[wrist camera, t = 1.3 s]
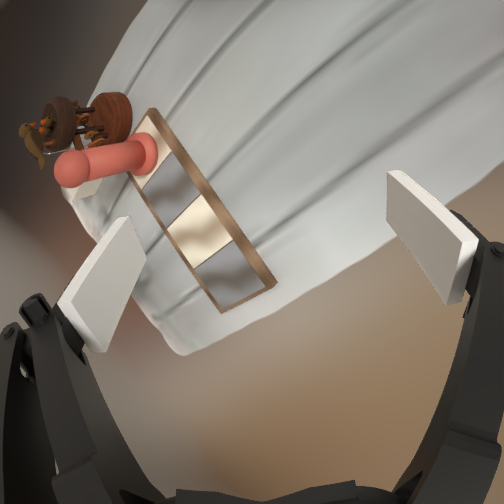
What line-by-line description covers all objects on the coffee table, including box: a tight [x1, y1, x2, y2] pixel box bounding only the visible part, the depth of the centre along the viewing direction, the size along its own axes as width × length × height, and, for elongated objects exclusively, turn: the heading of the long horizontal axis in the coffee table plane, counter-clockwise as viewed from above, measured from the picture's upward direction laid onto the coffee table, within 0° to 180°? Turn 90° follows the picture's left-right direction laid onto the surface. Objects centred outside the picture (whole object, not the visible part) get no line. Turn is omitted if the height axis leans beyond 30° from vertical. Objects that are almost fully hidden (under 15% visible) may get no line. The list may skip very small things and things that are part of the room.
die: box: [66, 177, 104, 201], centre depth 53 cm, size 6×6×6 cm
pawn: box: [54, 132, 158, 188], centre depth 37 cm, size 7×7×16 cm
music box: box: [19, 92, 132, 170], centre depth 39 cm, size 15×11×20 cm
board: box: [127, 108, 278, 314], centre depth 45 cm, size 33×12×2 cm, turn 40°
